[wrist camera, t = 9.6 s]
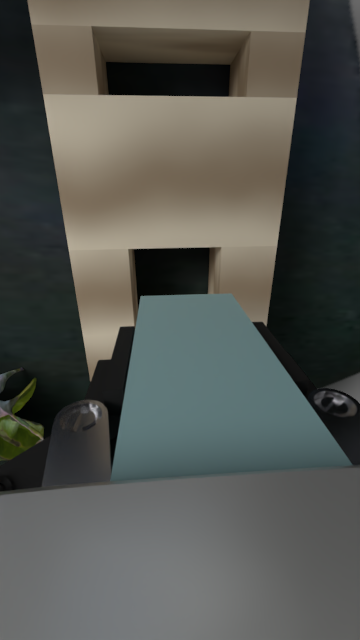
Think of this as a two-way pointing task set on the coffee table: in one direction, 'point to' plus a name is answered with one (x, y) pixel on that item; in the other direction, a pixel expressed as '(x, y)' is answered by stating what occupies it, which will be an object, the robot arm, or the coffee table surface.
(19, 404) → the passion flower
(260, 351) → the square peg
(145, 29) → the bore board
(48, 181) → the coffee table surface
